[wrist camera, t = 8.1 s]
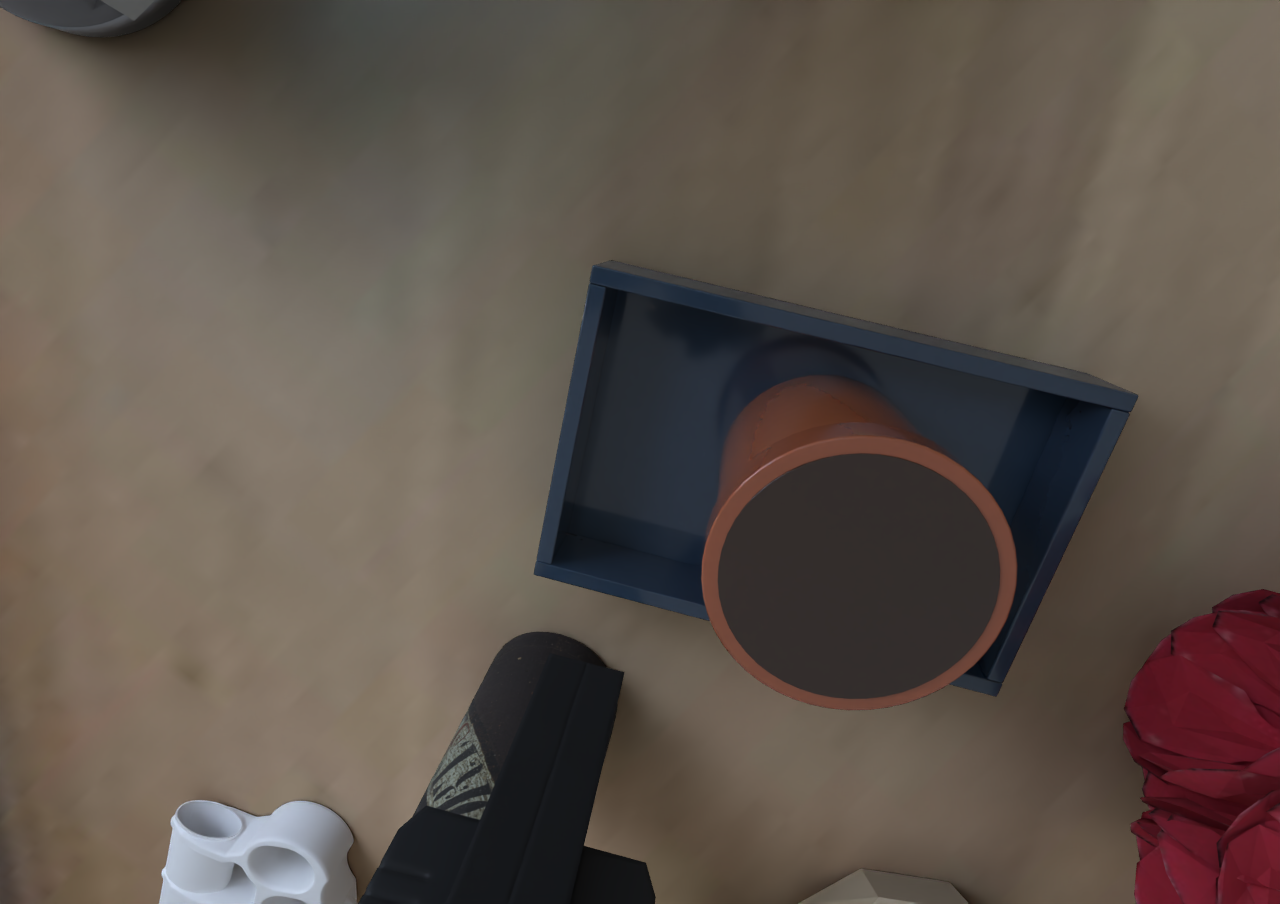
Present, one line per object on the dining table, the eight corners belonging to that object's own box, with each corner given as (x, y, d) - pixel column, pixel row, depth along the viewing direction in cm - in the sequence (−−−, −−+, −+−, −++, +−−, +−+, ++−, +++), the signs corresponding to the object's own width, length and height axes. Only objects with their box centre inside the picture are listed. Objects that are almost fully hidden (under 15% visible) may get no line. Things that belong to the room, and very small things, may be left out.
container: (571, 603, 41) (433, 926, 22) (652, 719, 43) (586, 1109, 24) (458, 661, 43) (243, 999, 24) (538, 768, 45) (397, 1160, 26)
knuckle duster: (202, 755, 49) (398, 834, 48) (170, 924, 55) (344, 995, 54) (165, 792, 45) (374, 877, 45) (135, 968, 51) (320, 1043, 51)
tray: (610, 259, 35) (592, 264, 30) (1087, 373, 33) (1140, 395, 29) (555, 536, 40) (533, 574, 35) (967, 644, 39) (996, 697, 34)
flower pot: (616, 353, 26) (1047, 516, 18) (792, 343, 38) (1095, 438, 31) (566, 599, 30) (909, 823, 22) (742, 518, 42) (1002, 643, 34)
